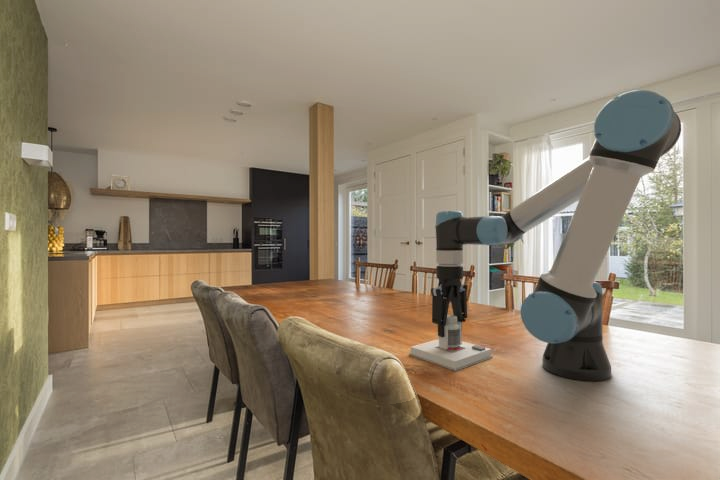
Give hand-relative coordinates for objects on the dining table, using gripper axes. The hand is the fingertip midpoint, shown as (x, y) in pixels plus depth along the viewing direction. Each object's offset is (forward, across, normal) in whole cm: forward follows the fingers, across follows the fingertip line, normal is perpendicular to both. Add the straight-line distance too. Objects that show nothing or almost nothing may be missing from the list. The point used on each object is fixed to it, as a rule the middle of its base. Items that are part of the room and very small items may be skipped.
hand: (450, 345), depth 105 cm
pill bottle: (+2, 0, 0) cm, 2 cm away
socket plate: (+3, 0, 0) cm, 3 cm away
